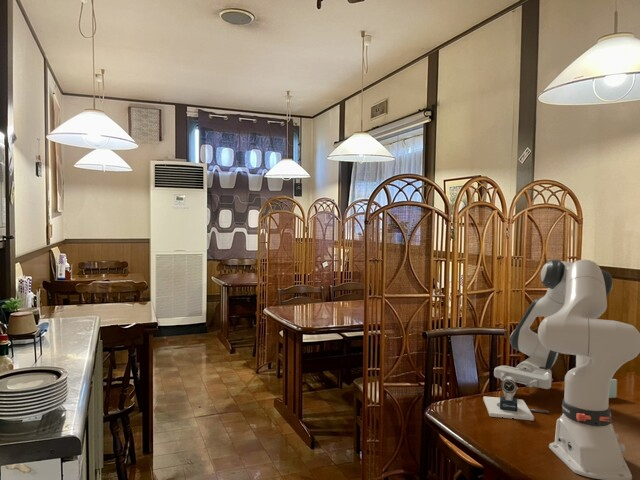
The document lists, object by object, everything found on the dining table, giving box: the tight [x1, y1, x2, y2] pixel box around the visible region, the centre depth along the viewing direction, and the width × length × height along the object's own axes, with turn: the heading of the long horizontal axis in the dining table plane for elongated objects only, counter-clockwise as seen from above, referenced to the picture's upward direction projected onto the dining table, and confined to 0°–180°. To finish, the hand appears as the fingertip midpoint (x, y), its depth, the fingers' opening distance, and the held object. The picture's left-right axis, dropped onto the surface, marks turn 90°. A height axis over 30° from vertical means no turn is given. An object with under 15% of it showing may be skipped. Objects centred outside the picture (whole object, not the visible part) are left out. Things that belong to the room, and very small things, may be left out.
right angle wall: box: [609, 378, 618, 399], centre depth 180 cm, size 12×12×8 cm
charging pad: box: [482, 396, 550, 421], centre depth 161 cm, size 16×21×1 cm
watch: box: [499, 376, 519, 412], centre depth 160 cm, size 6×8×11 cm
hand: (515, 381), depth 168 cm, fingers open, 8 cm apart
